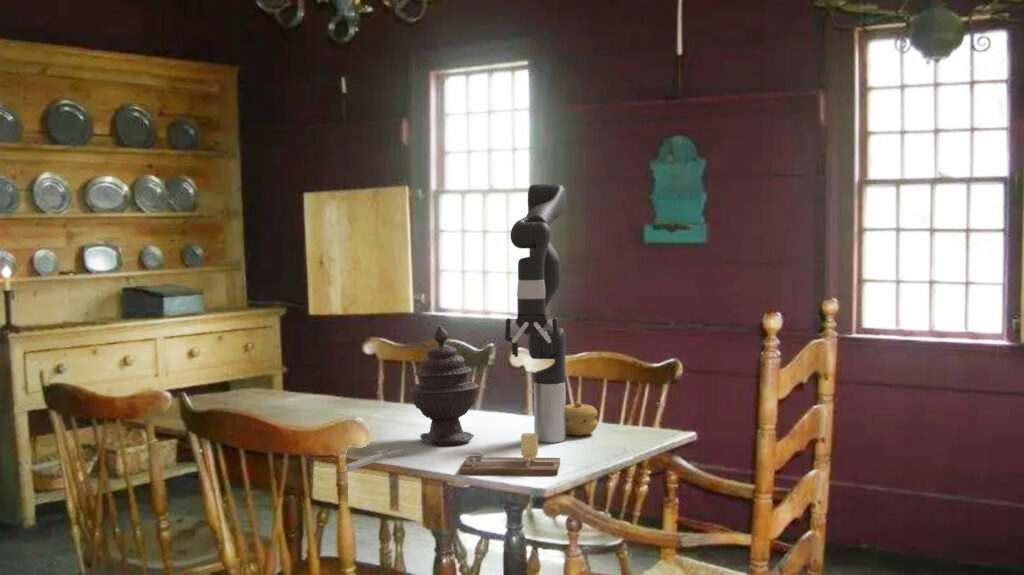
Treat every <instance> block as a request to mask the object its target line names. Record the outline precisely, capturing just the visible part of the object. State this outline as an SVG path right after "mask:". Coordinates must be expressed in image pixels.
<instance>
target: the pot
mask: <svg viewBox="0 0 1024 575" xmlns="http://www.w3.org/2000/svg"><path fill="white" fill-rule="evenodd" d="M597 416H598V410H597V409H596V407H594V406H593V405H590V404H585V403H582V402H580V401H576V402H575V403H571V404H566V435H570V436H575V437H576V436H577V437H579V436H587V435H590V434H592V433H593V432H594V431H596V429H597V426H598V423H599V422H598V419H597V418H596V417H597Z"/></svg>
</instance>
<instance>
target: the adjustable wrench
mask: <svg viewBox="0 0 1024 575" xmlns="http://www.w3.org/2000/svg"><path fill="white" fill-rule="evenodd" d="M402 456H404V449H403V448H399V449H398V450H394V451H392V450H391V449H390V448H384V449H380V450H376V453H375V454H374V455H371V456H367V457H365V458H362V459H359V460H356V461H352V462H349V463H346V464H347V471H346V472H350V471H353V470H355V469H359V468H361V467H364V466H367V465H370V464H374V463H376V462H379V461H382V460H386V459H385V458H387V459H391V458H392V457H393V458H397V457H402ZM381 459H382V460H381Z"/></svg>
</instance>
